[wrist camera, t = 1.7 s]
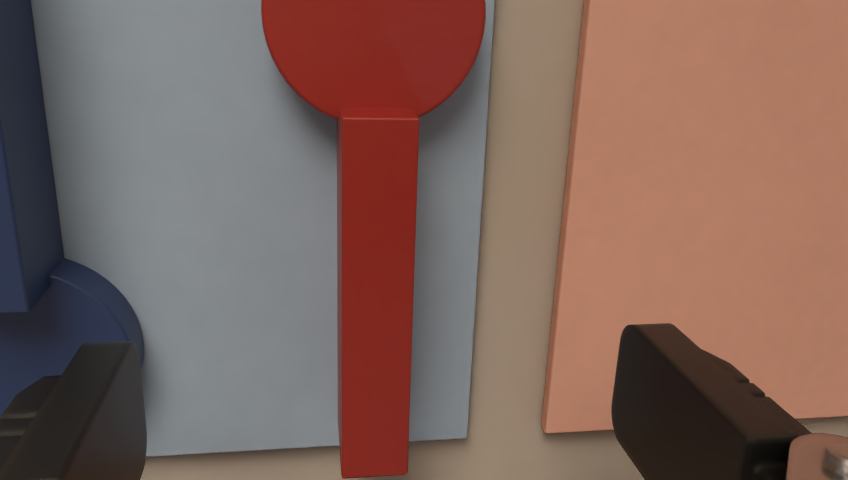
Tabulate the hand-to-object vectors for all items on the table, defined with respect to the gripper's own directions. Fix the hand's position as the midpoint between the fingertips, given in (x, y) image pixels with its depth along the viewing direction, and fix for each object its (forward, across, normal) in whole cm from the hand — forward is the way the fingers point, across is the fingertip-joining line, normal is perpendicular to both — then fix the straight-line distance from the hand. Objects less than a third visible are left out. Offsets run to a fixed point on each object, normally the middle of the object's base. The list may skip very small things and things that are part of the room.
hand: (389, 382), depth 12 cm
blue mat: (+5, +4, -2) cm, 6 cm away
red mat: (+5, -10, -2) cm, 12 cm away
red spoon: (+4, 0, -2) cm, 5 cm away
